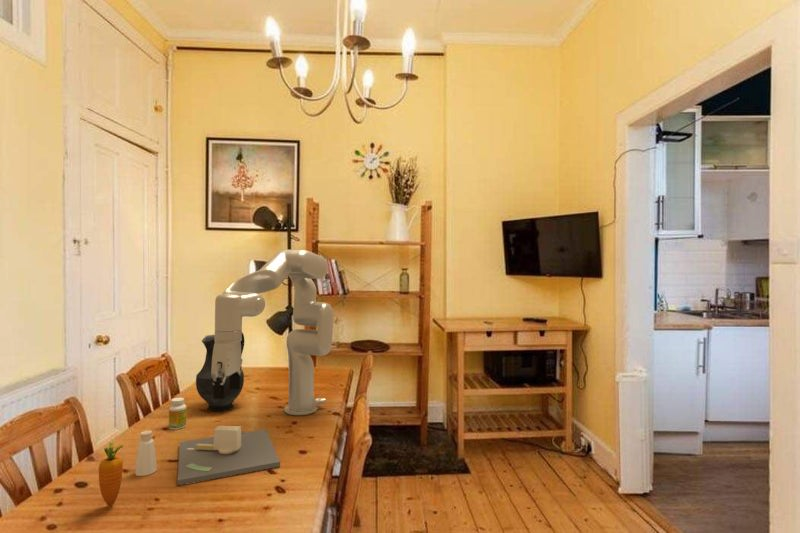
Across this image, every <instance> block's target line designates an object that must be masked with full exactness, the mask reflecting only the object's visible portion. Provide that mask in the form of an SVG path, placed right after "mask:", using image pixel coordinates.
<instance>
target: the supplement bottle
mask: <svg viewBox="0 0 800 533" xmlns="http://www.w3.org/2000/svg"><path fill="white" fill-rule="evenodd" d="M170 402H171V405H170V406H169V408H168V429H170V430H172V431H173V430H174V431H175V430H181V428H182V429H184V428H185V427H186V426H187V405H186V404H185V398H184V397H174V398H172V399H171V401H170Z"/></svg>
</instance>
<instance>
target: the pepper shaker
mask: <svg viewBox="0 0 800 533" xmlns="http://www.w3.org/2000/svg"><path fill="white" fill-rule="evenodd" d="M139 434H140V440H139V441H138V444H137V452H136V453H137V454H136V463H135V468H134V469H135V470H134V473H135V476H138V477H139V476H140V477H145V476H150V475H152V474H154V473H156V472H157V471H158V468H157V467H158V466H157V459H156V458H157V457H156V450H155V441H154V438H153V431H152V430H150V429H149V430H144V431H142V432H140V433H139Z"/></svg>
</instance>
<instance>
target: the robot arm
mask: <svg viewBox="0 0 800 533" xmlns="http://www.w3.org/2000/svg"><path fill="white" fill-rule="evenodd" d="M328 271H329V265H328V261H327V260H326V259H325V258H324V256H321V255H319V254H316V253H314V252H312V251H310V250H307V249H280V250H278V251H277V252H275V254H274V255H273V256H271V257H270V259H269V260H268V261H267V262H266V263H265V264H264V265H263V266H261V268H260V269H258V270H257V271H253V272H251V273H249V274H246V275H245V276H242V277H241V278H238V279H237V280H235V281H233V282H232V283H231V284H230V285H229V286H228V287H227V288H225V290H224V291H223V292H222V294H218V295H217V296H216V297H215V299H214V300H215V301H214V335H215V343H214V348H213V355H212V369H211V376H212V381H213V385H214V399H224V398H225V385H224V382H225V379H226V377H228V376H230V375H232V376H230V385H229V388H230V389H240V375H241V369H242V367H243V366H242V364H243V358H242V356H241V342H240V341H242V333H243V318H244V317H246V318H247V317H251V318H252V317H257V316H259V315H260V314H262V313H263V312H264V310H265V307H266V301H265V298H264V297H263V296H262V295H261V294H262V293H267V292H268V293H269V292H270V291H274V290H276V289H277V288H279V287H280V285H281V284H282V283H283V282H284V281H285V280H286V279H287V277H289V279H290V280H291V283H292V285H293V287H294V295H293V296H294V297H293V309H292V310H293V311H292V319H293V320H292V321H293V322H294V324H296V325H298V326H305V327H316V328H317V329H306V328H296V329H293V330H291V331H290V332H289V333H288V335H287V337H286V348H287V353H288V354H287V355H288V404H287V405H285V406H284V408H283V409H284V412H285V414H288V415H290V416H306V415H311V414H313V413H315V412H317V411H318V405H323V404H326V403H327V401H326V400H327V399H326V398H321V397H315V396H314V394H315V393H314V390H315V389H314V388H315V386H314V384H315V383H314V382H315V362H314V360H313V359H312V357H311V356H318V357H319V356H320V357H321V356H327V355H328V354H329V353H330V351H331V349H332V344H333V333H334V331H333V330H334V316H335V315H334V314H335V313H334V310H333V307H332V305H331V304H330V303H328V302H323V301H317V292H318V291H317V287H316V285H315V282H314V281H313V279H314V280H320V279H323V278H324V277H326V276H327V274H328ZM219 377H222V380H221V379H220V378H219Z"/></svg>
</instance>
